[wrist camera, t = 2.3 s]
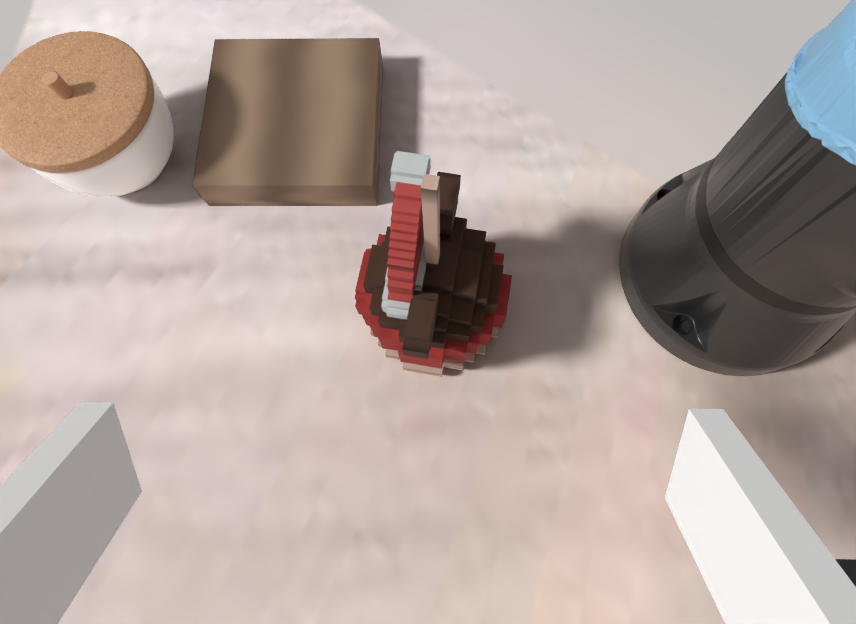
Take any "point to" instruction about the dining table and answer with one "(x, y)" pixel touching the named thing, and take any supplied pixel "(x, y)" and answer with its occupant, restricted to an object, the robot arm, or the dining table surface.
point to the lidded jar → (85, 115)
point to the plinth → (291, 123)
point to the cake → (431, 275)
